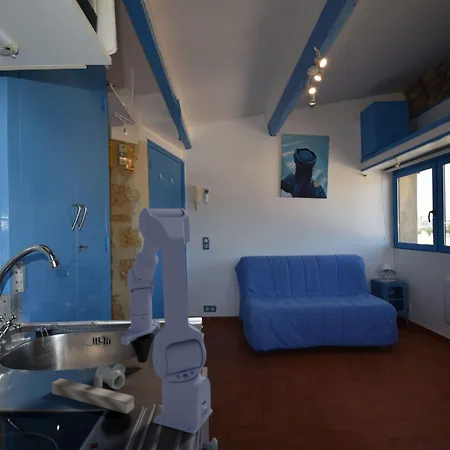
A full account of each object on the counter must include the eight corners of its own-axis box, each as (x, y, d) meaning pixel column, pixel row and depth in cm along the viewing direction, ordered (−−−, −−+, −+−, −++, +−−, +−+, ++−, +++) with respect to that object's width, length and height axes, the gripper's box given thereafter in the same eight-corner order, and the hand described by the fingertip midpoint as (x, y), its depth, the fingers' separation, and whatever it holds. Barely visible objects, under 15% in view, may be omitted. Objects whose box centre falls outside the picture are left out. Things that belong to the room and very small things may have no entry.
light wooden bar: (139, 403, 73) (139, 383, 73) (126, 413, 69) (126, 392, 69) (67, 385, 82) (66, 367, 82) (52, 393, 78) (51, 374, 78)
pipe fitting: (119, 374, 88) (95, 381, 83) (120, 359, 89) (96, 366, 84) (136, 383, 83) (111, 392, 78) (137, 367, 83) (112, 375, 78)
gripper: (145, 304, 99) (146, 349, 100) (111, 318, 86) (112, 370, 86) (165, 307, 97) (166, 353, 97) (133, 321, 83) (134, 374, 83)
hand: (142, 361), depth 91 cm, fingers closed
